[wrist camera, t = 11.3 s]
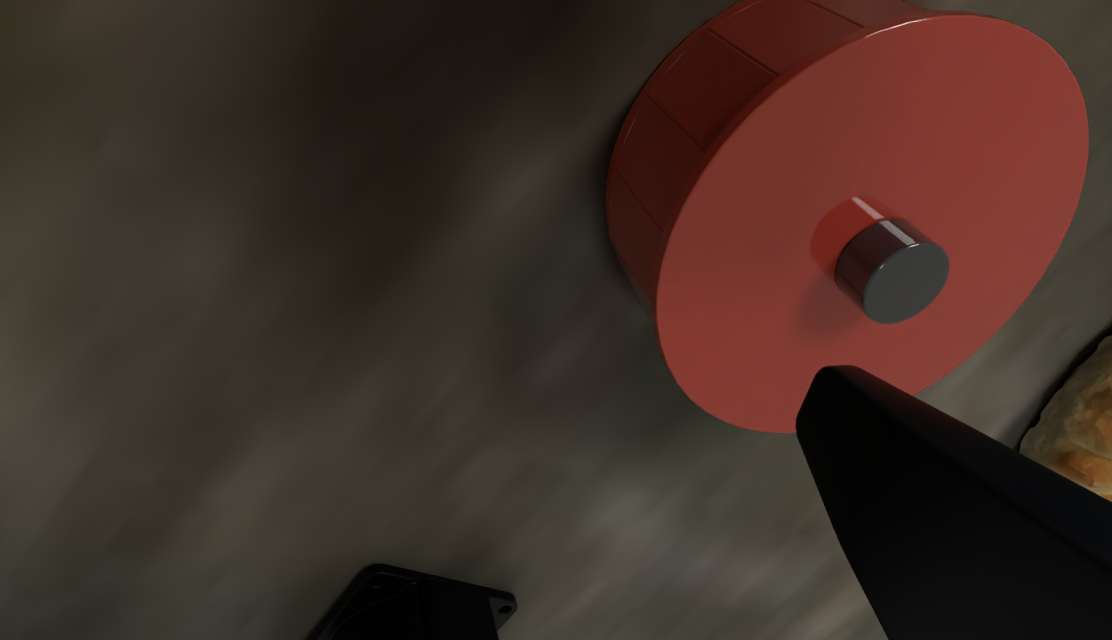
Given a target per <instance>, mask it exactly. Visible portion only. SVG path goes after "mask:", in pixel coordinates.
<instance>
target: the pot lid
mask: <svg viewBox="0 0 1112 640" xmlns="http://www.w3.org/2000/svg"><path fill="white" fill-rule="evenodd" d="M1088 153H1089V125H1088V119H1087V113H1086V107H1085V102H1084V99H1083V96H1082V93H1081V91H1080V88H1079V85H1078V83H1077V80H1076V78H1075V77H1074V75H1073V73H1072V72H1071V70H1070V69H1069V67H1068V65H1067V64H1066V62H1065V61H1064V59H1063V58H1062V57H1061V56H1060V55H1059V54H1058V53H1057V52H1056V51H1055V50H1054V49H1053V48H1052V47H1051V46H1050V45H1049V44H1048V43H1047V42H1046V41H1045V40H1043V39H1041V38H1040V37H1038V36H1037V35H1035V34H1034V33H1032V32H1031V31H1029V30H1028V29H1026V28H1023V27H1021V26H1018V25H1015V24H1013V23H1010V22H1007V21H1005V20H1002V19H999V18H997V17H994V16H991V15H986V14H980V13H974V12H968V11H930V12H923V13H917V14H911V15H905V16H899V17H896V18H893V19H889V20H886V21H883V22H880V23H876V24H873V25H870V26H867V27H864V28H862V29H860V30H857V31H855V32H853V33H851V34H848V35H846V36H844V37H842V38H839V39H837V40H835V41H833V42H831V43H829V44H828V45H826V46H824V47H822V48H821V49H819V50H817V51H816V52H814V53H812V54H811V55H809V56H807V57H806V58H804V59H802V60H800V61H799V62H798V63H796V64H795V65H794V66H792V67H791V68H790V69H788V70H787V71H785V72H784V73H783V74H781V75H780V76H779V77H777V78H776V79H775V80H773V81H772V82H771V83H769V84H768V85H767V86H766V87H765V88H764V89H763V90H762V91H761V92H759V93H758V94H757V95H756V96H755V97H754V98H753V99H752V100H751V101H750V102H749V103H747V104H746V105H745V106H744V107H743V108H742V109H741V110H740V111H739V112H738V113H737V114H736V115H735V117H734V118H733V119H732V120H731V121H730V122H729V123H728V124H727V126H726V127H725V128H724V129H723V130H722V131H721V132H720V133H719V135H718V136H717V137H716V138H715V139H714V141H713V142H712V143H711V145H710V146H709V148H708V149H707V150H706V152H705V153H704V155H703V156H702V157H701V159H700V160H699V162H698V163H697V164H696V166H695V167H694V169H693V170H692V172H691V174H690V176H689V177H688V179H687V181H686V183H685V184H684V186H683V188H682V190H681V191H680V193H679V195H678V197H677V199H676V201H675V203H674V206H673V208H672V210H671V213H670V215H669V217H668V220H667V222H666V224H665V227H664V229H663V233H662V236H661V239H660V243H659V246H658V250H657V253H656V257H655V262H654V269H653V275H652V282H651V317H652V324H653V330H654V336H655V339H656V342H657V345H658V348H659V351H660V354H661V357H662V359H663V361H664V362H665V364H666V366H667V368H668V370H669V371H670V373H671V375H672V377H673V378H674V380H675V382H676V383H677V384H678V386H679V387H680V388H681V389H682V390H683V392H684V393H685V394H686V395H687V396H688V398H689V399H691V400H692V401H693V402H694V403H696V404H697V405H698V406H699V407H700V408H702V409H703V410H704V411H706V412H707V413H709V414H711V415H713V416H715V417H716V418H718V419H720V420H722V421H724V422H727V423H729V424H732V425H735V426H738V427H740V428H745V429H750V430H754V431H759V432H769V433H796V417H797V414H798V412H799V409H800V407H801V405H802V403H803V401H804V398H805V396H806V394H807V392H808V389H809V387H810V385H811V383H812V380H813V378H814V376H815V374H816V373H817V372H818V371H819V370H820V369H821V368H823V367H825V366H834V365H853V366H857V367H859V368H861V369H863V370H865V371H867V372H869V373H871V374H872V375H874V376H876V377H878V378H880V379H882V380H884V381H886V382H887V383H889V384H891V385H893V386H895V387H897V388H899V389H901V390H902V391H904V392H906V393H908V394H910V395H912V396H914V395H915V394H917V393H919V392H921V391H923V390H924V389H926V388H927V387H929V386H930V385H932V384H933V383H935V382H936V381H938V380H940V379H941V378H943V377H944V376H946V375H947V374H948V373H950V372H951V371H952V370H953V369H955V368H956V367H957V366H959V365H960V364H961V363H963V362H964V361H965V360H967V359H968V358H969V357H970V356H971V355H972V354H973V353H975V352H976V351H977V350H978V349H979V348H980V347H981V346H983V345H984V344H985V343H986V342H987V341H988V340H989V339H990V338H991V337H992V336H993V335H994V334H995V333H996V332H997V331H998V330H999V329H1000V328H1001V327H1002V326H1003V325H1004V324H1005V323H1006V322H1007V321H1008V320H1009V318H1010V317H1011V316H1012V315H1013V314H1014V313H1015V311H1016V310H1017V309H1018V308H1019V307H1020V305H1021V304H1022V303H1023V302H1024V301H1025V300H1026V298H1027V297H1028V295H1029V294H1030V293H1031V291H1032V290H1033V289H1034V287H1035V286H1036V284H1037V283H1038V282H1039V280H1040V279H1041V277H1042V276H1043V274H1044V273H1045V271H1046V269H1047V268H1048V266H1049V265H1050V263H1051V261H1052V260H1053V258H1054V256H1055V255H1056V253H1057V251H1058V249H1059V247H1060V245H1061V243H1062V241H1063V239H1064V237H1065V235H1066V233H1067V231H1068V229H1069V226H1070V224H1071V221H1072V219H1073V216H1074V213H1075V211H1076V208H1077V205H1078V203H1079V199H1080V195H1081V191H1082V188H1083V184H1084V180H1085V176H1086V168H1087V161H1088Z"/></svg>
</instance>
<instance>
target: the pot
mask: <svg viewBox="0 0 1112 640" xmlns="http://www.w3.org/2000/svg"><path fill="white" fill-rule="evenodd" d="M923 12H930V11H929V10H926V9H924V8H921V7H919V6H916V5H914V4H911V3H909V2H907V1H904V0H743V1H741V2H738V3H736V4H734V5H733V6H731V7H729V8H728V9H726V10H724V11H723V12H721V13H719V14H718V15H716V16H714V17H713V18H711V19H710V20H709V21H707V22H706V23H705V24H703V25H702V26H701V27H700V28H698V29H697V30H696V31H694V32H693V33H692V34H690V35H689V36H688V37H687V38H686V39H685V40H684V41H683V42H682V43H681V44H680V45H679V46H678V47H677V48H676V49H675V50H674V51H673V52H672V53H671V54H669V55H668V57H667V58H666V59H665V60H664V61H663V63H662V64H661V65H660V66H659V67H658V69H657V70H656V71H655V72H654V73H653V75H652V76H651V77H650V79H649V80H648V82H647V83H646V85H645V86H644V88H643V89H642V91H641V92H640V94H639V95H638V97H637V98H636V100H635V101H634V103H633V105H632V107H631V109H630V111H629V113H628V115H627V117H626V119H625V121H624V123H623V125H622V128H621V131H620V133H619V136H618V139H617V141H616V144H615V147H614V150H613V154H612V158H611V162H610V167H609V171H608V178H607V187H606V219H607V225H608V231H609V236H610V240H611V243H612V246H613V249H614V252H615V254H616V257H617V259H618V261H619V263H620V264H621V266H622V268H623V270H624V272H625V274H626V276H627V278H628V280H629V283H630V285H631V287H632V289H633V291H634V293H635V294H636V296H637V297H638V299H639V301H640V302H641V304H642V305H643V307H644V308H645V310H646V312H647V313H648V315H649V316H650V318H651V319H652V317H651V282H652V275H653V269H654V262H655V257H656V253H657V250H658V246H659V243H660V239H661V236H662V233H663V229H664V227H665V224H666V222H667V220H668V217H669V215H670V213H671V210H672V208H673V206H674V203H675V201H676V199H677V197H678V195H679V193H680V191H681V190H682V188H683V186H684V184H685V183H686V181H687V179H688V177H689V176H690V174H691V172H692V170H693V169H694V167H695V166H696V164H697V163H698V162H699V160H700V159H701V157H702V156H703V155H704V153H705V152H706V150H707V149H708V148H709V146H710V145H711V143H712V142H713V141H714V139H715V138H716V137H717V136H718V135H719V133H720V132H721V131H722V130H723V129H724V128H725V127H726V126H727V124H728V123H729V122H730V121H731V120H732V119H733V118H734V117H735V115H736V114H737V113H738V112H739V111H740V110H741V109H742V108H743V107H744V106H745V105H746V104H747V103H749V102H750V101H751V100H752V99H753V98H754V97H755V96H756V95H757V94H758V93H759V92H761V91H762V90H763V89H764V88H765V87H766V86H767V85H768V84H769V83H771V82H772V81H773V80H775V79H776V78H777V77H779V76H780V75H781V74H783V73H784V72H785V71H787V70H788V69H790V68H791V67H792V66H794V65H795V64H796V63H798V62H799V61H800V60H802V59H804V58H806V57H807V56H809V55H811V54H812V53H814V52H816V51H817V50H819V49H821V48H822V47H824V46H826V45H828V44H829V43H831V42H833V41H835V40H837V39H839V38H842V37H844V36H846V35H848V34H851V33H853V32H855V31H857V30H860V29H862V28H864V27H867V26H870V25H873V24H876V23H880V22H883V21H886V20H889V19H893V18H896V17H899V16H905V15H911V14H917V13H923Z"/></svg>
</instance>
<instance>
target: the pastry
mask: <svg viewBox="0 0 1112 640" xmlns="http://www.w3.org/2000/svg"><path fill="white" fill-rule="evenodd" d="M1040 415H1041V419H1040V421H1039V422H1038V424H1037V425H1036V426H1035V427H1034V428H1030V429H1029V430H1028V432H1027V433H1026V435H1025V436H1024V438H1023V440H1022V442H1021V445H1020V452H1019V453H1021V454H1023V455H1024V456H1026V457H1028V458H1030V459H1032V460H1034V461H1036V462H1038V463H1040V464H1041V465H1043V466H1045V467H1047V468H1049V469H1051V470H1053V471H1055V472H1056V473H1058V474H1060V475H1062V476H1064V477H1066V478H1068V479H1070V480H1071V481H1073V482H1075V483H1077V484H1079V485H1081V486H1083V487H1085V488H1086V489H1088V490H1090V491H1092V492H1094V493H1096V494H1098V495H1100V496H1101V497H1103V498H1105V499H1107V500H1109V501H1111V502H1112V335H1111V336H1107V337H1105V338H1104V339H1103V340H1101V341H1100V342H1099V344H1098V348H1097V350H1096V351H1095V352H1094V353H1093V354H1092V355H1091V356H1090V357H1089V358H1088V359H1087V360H1086V361H1085V362H1084V363H1083V364H1081V365H1079V366H1078V367H1076V368H1075V369H1074V371H1073V373H1072V375H1071V376H1070V377H1069V378H1068V379H1067V381H1066V382H1065V383H1064V384H1063V387H1062V388H1061V389H1058V391H1057V392H1056V393H1055V394H1054V395H1053V397H1052V398H1051V399H1050V401H1049V402H1048V404H1047V405H1046V407H1045V408H1044V409H1043V411H1042V412H1041V414H1040Z"/></svg>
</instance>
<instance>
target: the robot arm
mask: <svg viewBox="0 0 1112 640" xmlns="http://www.w3.org/2000/svg"><path fill="white" fill-rule="evenodd" d="M796 434H797V438H798V440H799V443H800V445H801V448H802V450H803V453H804V455H805V458H806V461H807V463H808V466H809V468H810V471H811V473H812V476H813V478H814V481H815V483H816V486H817V488H818V491H819V493H820V496H821V498H822V501H823V503H824V506H825V508H826V511H827V513H828V516H829V518H830V521H831V523H832V526H833V528H834V531H835V533H836V535H837V538H838V540H839V542H840V545H841V547H842V549H843V551H844V553H845V555H846V557H847V559H848V561H849V564H850V566H851V567H852V569H853V571H854V573H855V575H856V577H857V579H858V581H859V583H860V585H861V587H862V589H863V591H864V593H865V595H866V597H867V599H868V600H869V602H870V604H871V606H872V608H873V610H874V612H875V614H876V616H877V618H878V620H879V622H880V624H881V626H882V628H883V630H884V632H885V633H886V635H887V637H888V639H889V640H1112V502H1111V501H1109V500H1107V499H1105V498H1103V497H1101V496H1100V495H1098V494H1096V493H1094V492H1092V491H1090V490H1088V489H1086V488H1085V487H1083V486H1081V485H1079V484H1077V483H1075V482H1073V481H1071V480H1070V479H1068V478H1066V477H1064V476H1062V475H1060V474H1058V473H1056V472H1055V471H1053V470H1051V469H1049V468H1047V467H1045V466H1043V465H1041V464H1040V463H1038V462H1036V461H1034V460H1032V459H1030V458H1028V457H1026V456H1024V455H1023V454H1021V453H1019V452H1017V451H1015V450H1013V449H1011V448H1009V447H1008V446H1006V445H1004V444H1002V443H1000V442H998V441H996V440H994V439H993V438H991V437H989V436H987V435H985V434H983V433H981V432H979V431H978V430H976V429H974V428H972V427H970V426H968V425H966V424H964V423H963V422H961V421H959V420H957V419H955V418H953V417H951V416H949V415H948V414H946V413H944V412H942V411H940V410H938V409H936V408H934V407H932V406H931V405H929V404H927V403H925V402H923V401H921V400H919V399H917V398H916V397H914V396H912V395H910V394H908V393H906V392H904V391H902V390H901V389H899V388H897V387H895V386H893V385H891V384H889V383H887V382H886V381H884V380H882V379H880V378H878V377H876V376H874V375H872V374H871V373H869V372H867V371H865V370H863V369H861V368H859V367H857V366H853V365H834V366H825V367H823V368H821V369H820V370H819V371H818V372H817V373H816V374H815V376H814V378H813V380H812V383H811V385H810V387H809V389H808V392H807V394H806V396H805V398H804V401H803V403H802V405H801V407H800V409H799V412H798V414H797V417H796ZM516 610H517V602H516V598H515V596H514V595H513V594H511V593H508V592H504V591H500V590H495V589H491V588H487V587H482V586H478V585H474V584H469V583H465V582H461V581H456V580H452V579H447V578H443V577H439V576H434V575H430V574H426V573H421V572H417V571H413V570H408V569H404V568H400V567H395V566H391V565H386V564H374V565H371V566H369V567H367V568H366V569H365V570H364V571H363V572H362V574H361V575H360V576H359V577H358V579H357V580H356V581H355V582H354V584H353V585H352V586H351V587H350V589H349V590H348V591H347V592H346V594H345V595H344V596H343V597H342V599H341V600H340V601H339V602H338V604H337V605H336V606H335V608H334V609H333V610H332V611H331V613H330V614H329V615H328V616H327V618H326V619H325V620H324V621H323V623H322V624H321V625H320V626H319V628H318V629H317V630H316V631H315V633H314V634H313V635H312V636H311V638H310V639H309V640H499V637H498V633H497V631H498V630H499V629H500V628H501V627H502V626H503V625H504V624H505V622H506V621H507V620H508V619H509V618H510V617H511V616H512V615H513V614H514V613H515V612H516Z"/></svg>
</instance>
